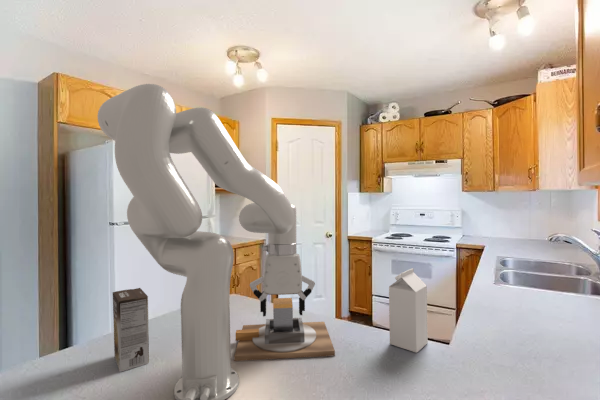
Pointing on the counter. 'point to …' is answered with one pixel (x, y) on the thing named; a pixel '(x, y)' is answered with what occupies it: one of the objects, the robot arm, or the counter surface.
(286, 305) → the grey orange block
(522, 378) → the counter surface
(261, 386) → the counter surface
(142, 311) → the coffee box
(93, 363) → the counter surface
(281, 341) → the rosette board
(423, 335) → the milk carton
